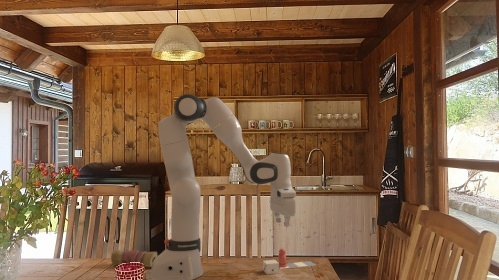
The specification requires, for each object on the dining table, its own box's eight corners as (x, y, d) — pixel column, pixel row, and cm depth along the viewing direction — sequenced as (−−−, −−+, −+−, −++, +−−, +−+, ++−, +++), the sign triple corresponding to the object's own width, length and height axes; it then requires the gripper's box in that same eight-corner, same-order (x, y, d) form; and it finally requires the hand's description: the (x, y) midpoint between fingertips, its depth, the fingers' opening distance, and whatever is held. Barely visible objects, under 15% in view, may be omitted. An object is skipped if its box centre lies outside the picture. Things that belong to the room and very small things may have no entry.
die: (262, 273, 153) (266, 277, 148) (262, 260, 154) (266, 264, 148) (275, 272, 155) (279, 276, 150) (275, 259, 155) (279, 263, 150)
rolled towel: (162, 261, 167) (122, 258, 173) (158, 247, 164) (118, 244, 170) (153, 273, 160) (113, 269, 166) (149, 259, 157) (108, 256, 163)
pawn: (279, 267, 157) (279, 250, 157) (276, 265, 160) (276, 247, 161) (288, 266, 158) (288, 249, 158) (285, 264, 161) (284, 247, 162)
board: (280, 271, 156) (280, 268, 156) (275, 267, 161) (275, 264, 161) (316, 267, 160) (316, 265, 160) (310, 263, 166) (310, 261, 166)
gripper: (266, 189, 169) (267, 220, 169) (282, 193, 149) (284, 229, 149) (279, 188, 171) (280, 219, 170) (297, 192, 151) (299, 228, 151)
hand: (282, 224), depth 160 cm, fingers open, 8 cm apart
